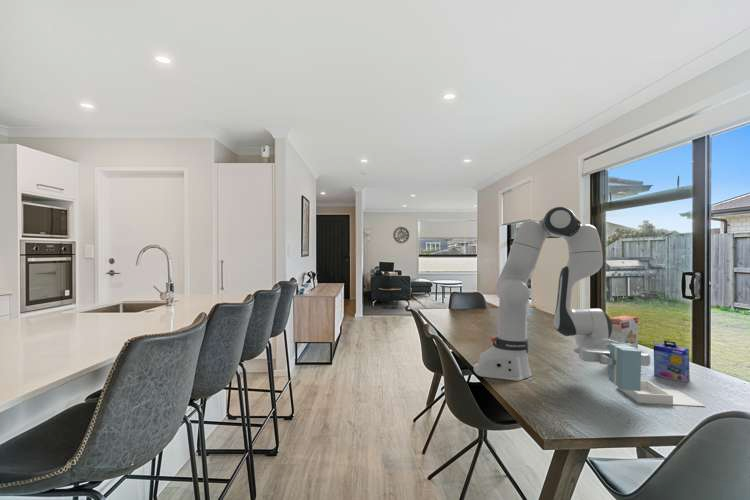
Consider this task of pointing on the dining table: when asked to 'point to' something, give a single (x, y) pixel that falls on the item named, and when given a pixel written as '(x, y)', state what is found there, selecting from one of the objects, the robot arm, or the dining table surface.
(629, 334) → the cracker box
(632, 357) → the gift box
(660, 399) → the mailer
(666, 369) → the ink cartridge box
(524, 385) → the dining table surface
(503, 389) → the dining table surface
